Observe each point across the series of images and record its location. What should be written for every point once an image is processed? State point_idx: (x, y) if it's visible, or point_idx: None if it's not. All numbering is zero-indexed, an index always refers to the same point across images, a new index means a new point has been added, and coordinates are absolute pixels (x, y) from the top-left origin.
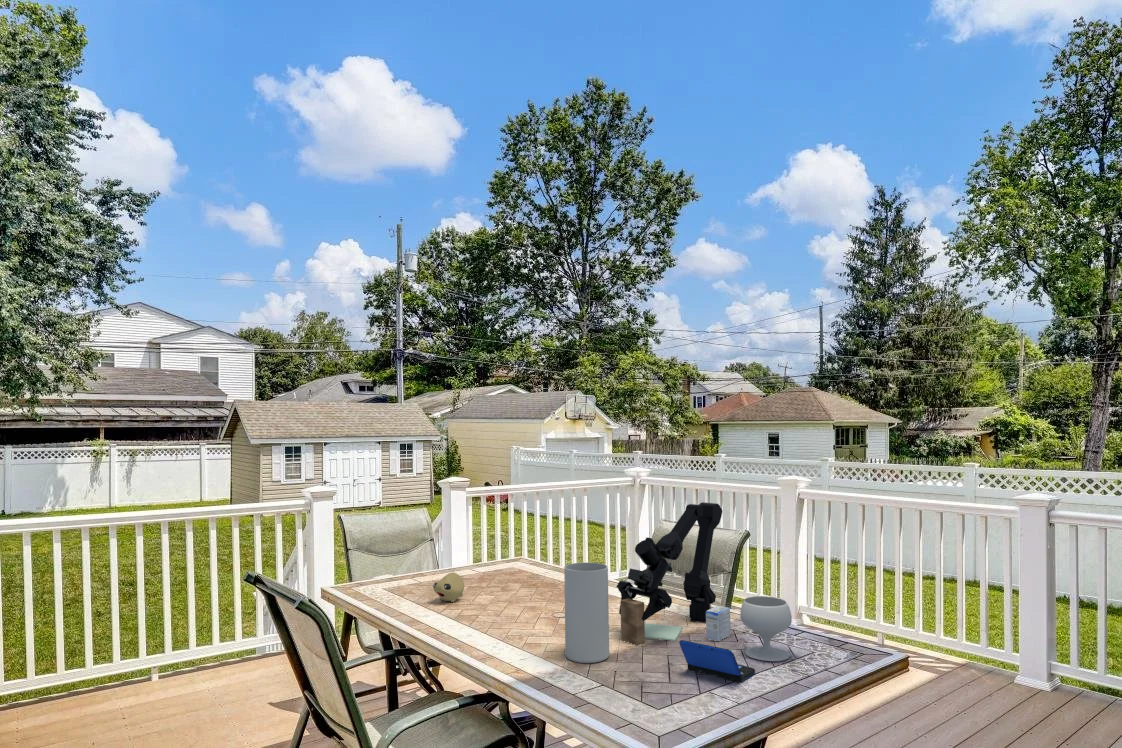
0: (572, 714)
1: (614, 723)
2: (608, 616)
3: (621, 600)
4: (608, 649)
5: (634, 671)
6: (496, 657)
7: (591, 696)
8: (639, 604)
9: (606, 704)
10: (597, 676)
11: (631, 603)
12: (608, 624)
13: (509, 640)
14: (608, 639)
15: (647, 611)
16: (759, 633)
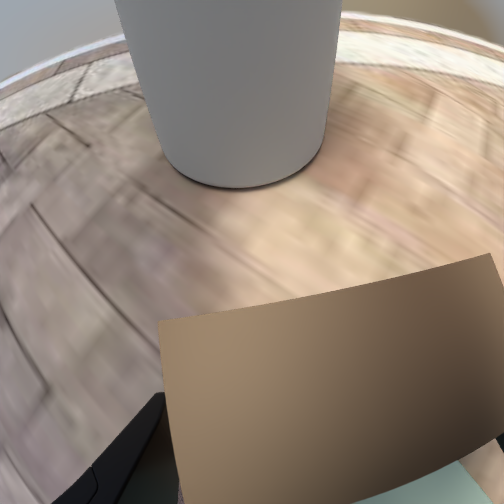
0: (56, 57)
1: (4, 90)
2: (135, 33)
3: (481, 260)
4: (164, 147)
5: (46, 185)
6: (351, 31)
7: (61, 80)
8: (170, 405)
9: (29, 91)
10: (103, 104)
11: (278, 305)
12: (141, 65)
13: (458, 83)
14: (157, 119)
15: (107, 449)
16: None
